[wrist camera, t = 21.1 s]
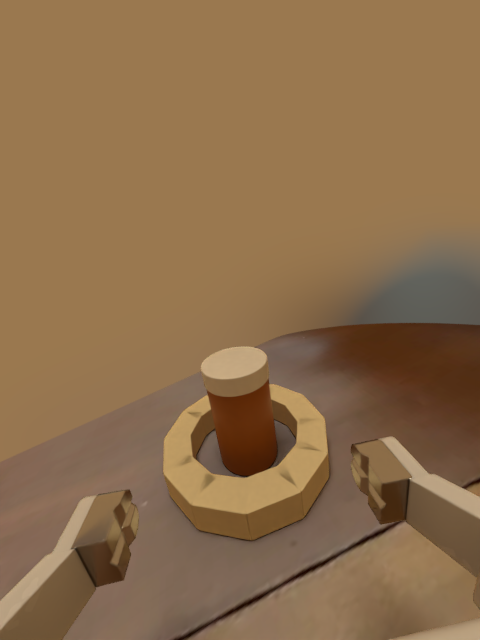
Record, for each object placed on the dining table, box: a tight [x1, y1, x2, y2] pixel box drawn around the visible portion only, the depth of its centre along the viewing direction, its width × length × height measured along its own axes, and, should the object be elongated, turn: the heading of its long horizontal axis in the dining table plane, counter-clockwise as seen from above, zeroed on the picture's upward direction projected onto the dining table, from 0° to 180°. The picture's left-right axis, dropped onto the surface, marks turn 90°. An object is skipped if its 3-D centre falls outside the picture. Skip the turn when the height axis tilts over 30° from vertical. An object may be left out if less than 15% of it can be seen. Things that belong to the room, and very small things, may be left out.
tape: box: [163, 384, 329, 540], centre depth 22 cm, size 14×14×2 cm
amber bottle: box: [201, 347, 277, 476], centre depth 21 cm, size 5×5×9 cm
